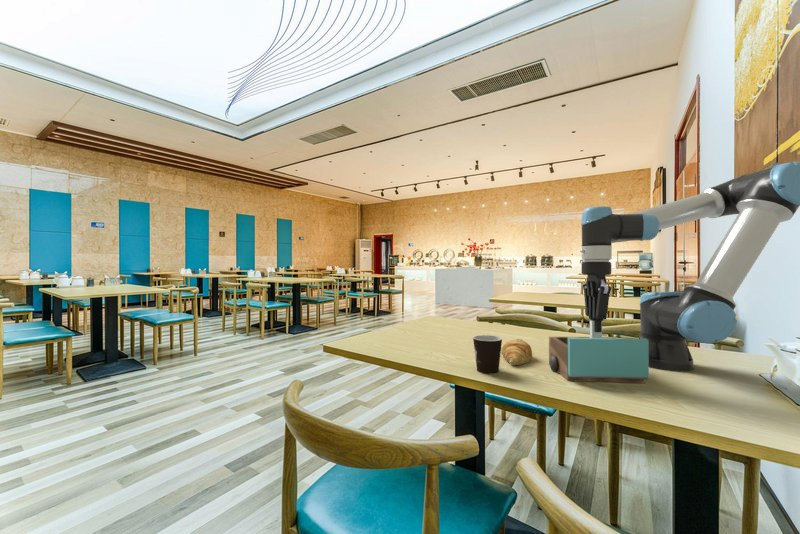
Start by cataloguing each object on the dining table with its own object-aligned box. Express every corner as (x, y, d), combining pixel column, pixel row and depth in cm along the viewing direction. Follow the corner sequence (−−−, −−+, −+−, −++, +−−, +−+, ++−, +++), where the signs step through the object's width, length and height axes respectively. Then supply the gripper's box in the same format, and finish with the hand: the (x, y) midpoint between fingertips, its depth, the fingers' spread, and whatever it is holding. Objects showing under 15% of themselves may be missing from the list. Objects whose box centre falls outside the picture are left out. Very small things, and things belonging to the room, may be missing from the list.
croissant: (523, 379, 108) (535, 358, 107) (493, 361, 112) (505, 340, 110) (527, 360, 128) (538, 342, 126) (502, 346, 131) (512, 328, 130)
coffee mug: (498, 376, 100) (498, 342, 100) (469, 372, 105) (469, 339, 105) (507, 366, 110) (507, 335, 110) (480, 362, 115) (480, 332, 115)
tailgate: (645, 377, 94) (645, 338, 94) (648, 379, 92) (648, 339, 92) (567, 376, 96) (567, 337, 96) (570, 377, 95) (569, 338, 95)
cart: (619, 365, 110) (618, 337, 110) (649, 382, 94) (649, 349, 94) (544, 364, 112) (544, 336, 112) (562, 380, 97) (562, 348, 97)
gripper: (573, 261, 107) (573, 337, 107) (592, 260, 94) (591, 347, 94) (599, 261, 106) (599, 338, 107) (621, 260, 93) (621, 348, 94)
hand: (595, 342), depth 100 cm, fingers closed
